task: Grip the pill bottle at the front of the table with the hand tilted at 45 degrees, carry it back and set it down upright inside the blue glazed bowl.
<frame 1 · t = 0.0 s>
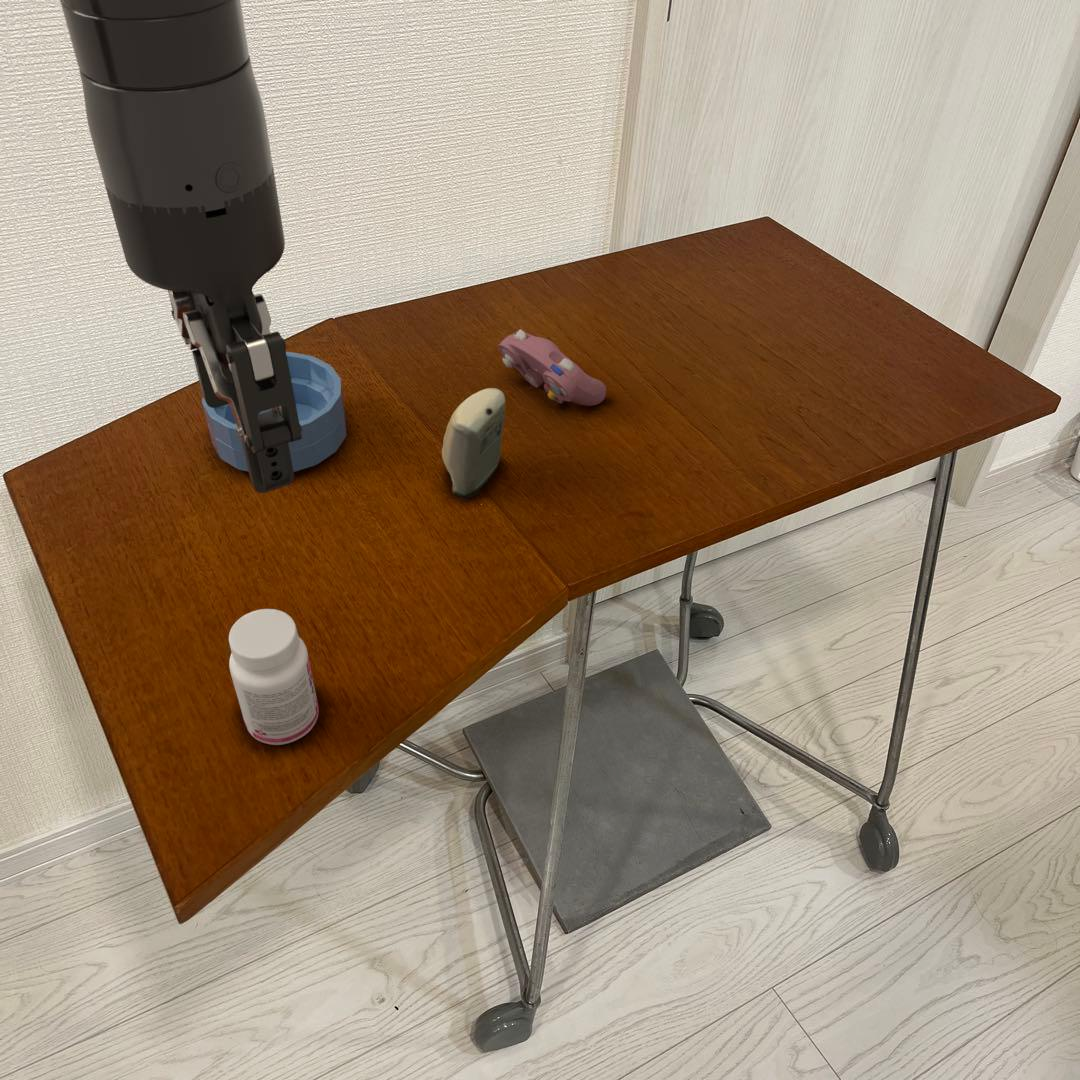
hand: (248, 441, 58), 19 cm above the table, tool pointing down, fingers open, 8 cm apart
video game controller: (549, 393, 93), on the table
pill bottle: (283, 718, 67), on the table
cream rounded block: (474, 483, 84), on the table
bowl: (281, 437, 87), on the table
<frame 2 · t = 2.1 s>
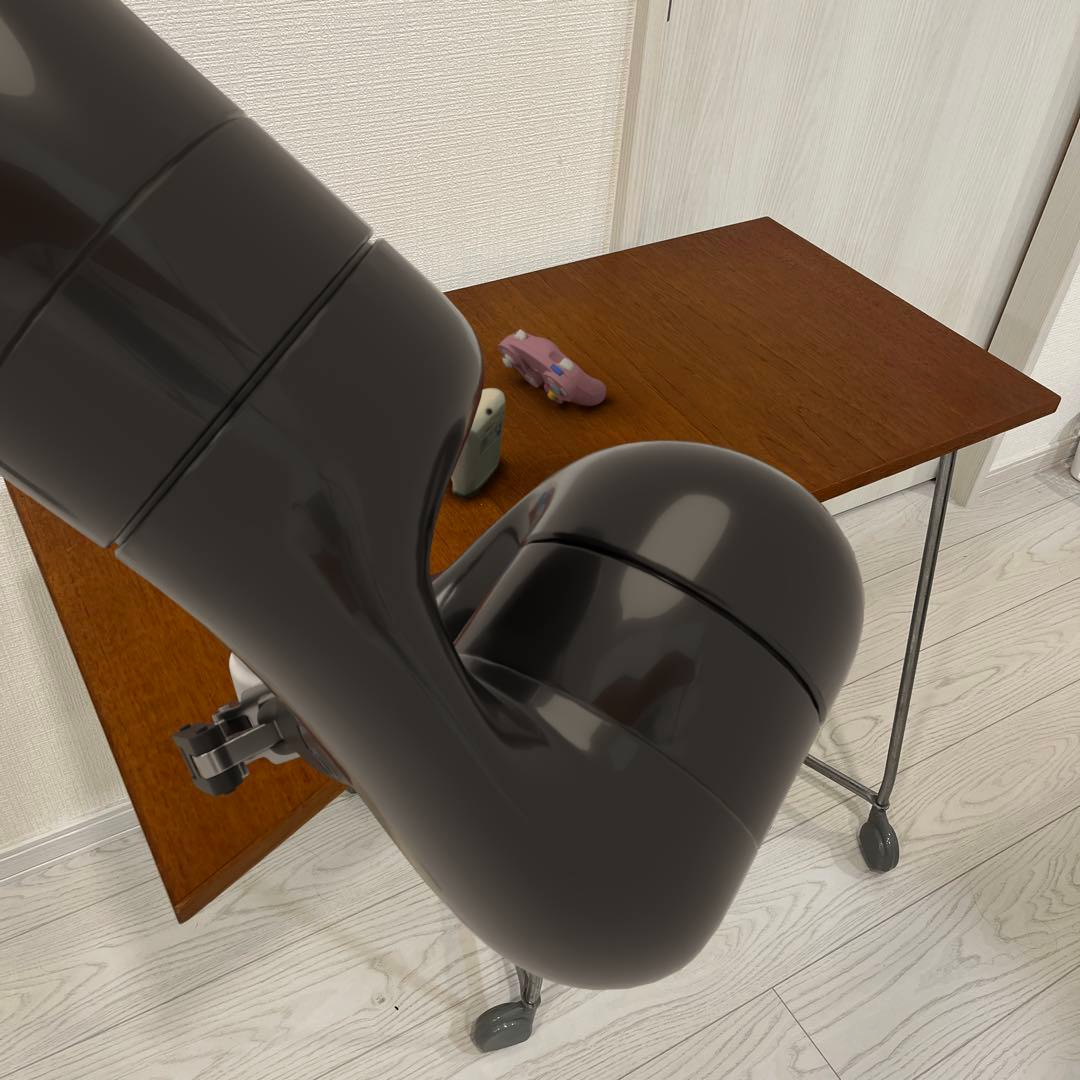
hand: (316, 684, 50), 15 cm above the table, tool tilted 45°, fingers open, 8 cm apart
nothing on the table moved.
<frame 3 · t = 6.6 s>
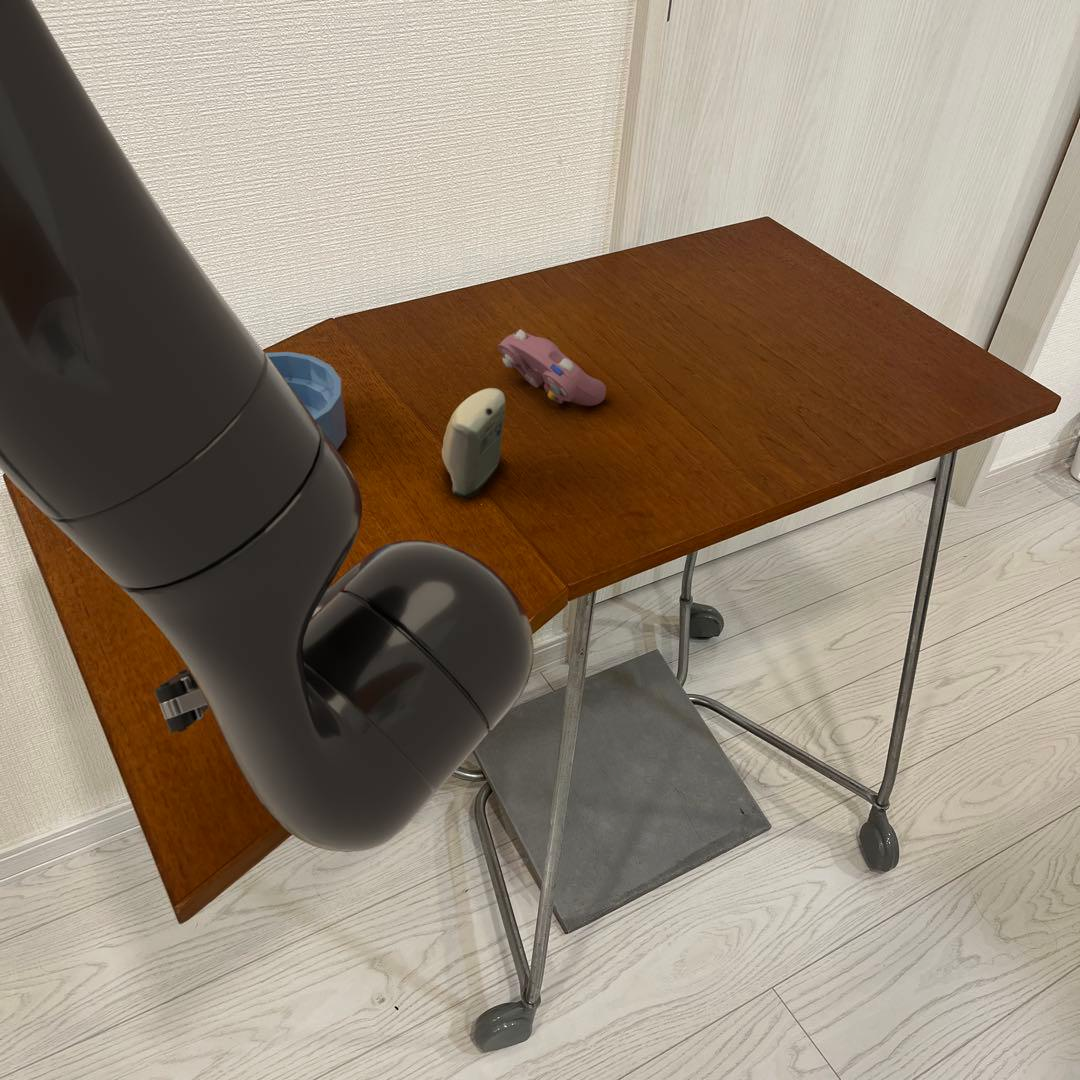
hand: (263, 657, 65), 4 cm above the table, tool tilted 45°, fingers closed on pill bottle, 4 cm apart
pill bottle: (283, 718, 67), on the table, touching gripper
everything else where it was.
when the fingers open (5 cm above the table, at t = 16.3 s): pill bottle stays where it is, resting on bowl.
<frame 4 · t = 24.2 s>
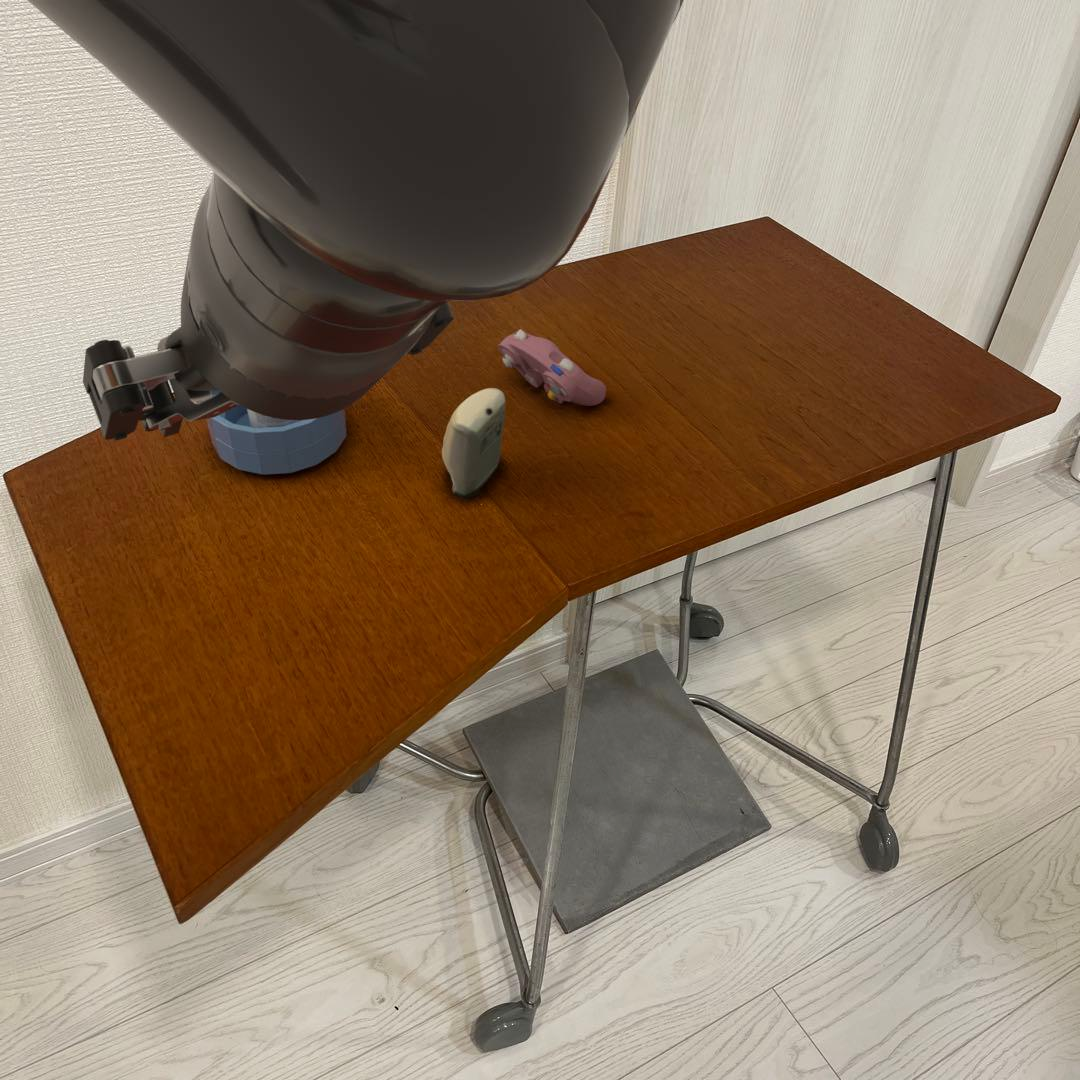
hand: (252, 388, 48), 27 cm above the table, tool tilted 45°, fingers open, 8 cm apart
pill bottle: (281, 434, 87), resting on bowl
everything else where it was.
at the end: pill bottle inside the target area in the bowl (0.2 cm from its centre), point 0.4 cm above the bowl's base; pill bottle tilted 0°; the gripper is holding nothing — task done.
